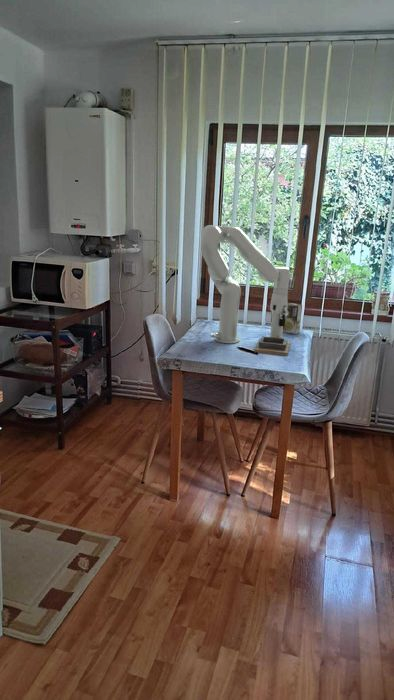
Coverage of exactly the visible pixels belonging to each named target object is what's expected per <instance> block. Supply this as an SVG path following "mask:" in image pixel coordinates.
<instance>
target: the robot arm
mask: <svg viewBox="0 0 394 700" xmlns="http://www.w3.org/2000/svg"><path fill="white" fill-rule="evenodd" d="M200 235H201V238H202V239H201V243H200V250H201V251H200V252H201V255H202V257H203V260H204V262H205V264H206V265H207V272H208V275H209V276H210V277H209V278H211V280H212V282H213V284H214V286H215V288H216V289H217V291H218V292H219V293H220V294H221V299H220V305H219V324H218V331H216V332H215V333H210V334H209V337H210V338H214V339H215V341H216V342H218V343H222V344H237V343H239V342H240V341H241V340H240V338H239V337H238V326H239V325H238V323H239V309H240V308H239V307H240V300H241V297H242V289H241V286H240V284H239V283H238V282H237V281H236V280H234V279H233V278H232V276H231V274H230V267H229V265H228V264H227V262H226V261H225V259H224V257H223V256H222V254H221V251H220V249H219V244H230V245H231V246H232V247H233V249H234V250H236V252H237V253H238V254H239V255H240V257H241V258H242V259H243V260H244V261H245V262H246V263H248V264H249V265H250V266H252V267H253V268H254V269H256V270H257V271H258V276H259V278H260V279H261V280H262V281H264V282H267V283H269V284H272V283H273V287H272V288H273V290H272V294H271V299H270V306H269V311H270V315H271V316H270V323H271V322H272V311H273V305H276V311H275V312H276V313H277V314H280V319H279V326H285V319H286V317H287V315H288V311H287V306H288V303H289V302H288V301H289V300H288V297H289V296H288V293H289V285H290V276H291V275H290V274H291V273H290V272H291V270H290V267H287V266H275V265H274V264H273V263H272V262H271V261H270V259H268V258H267V256H265V255H264V253H262V251H261V250H260V249H259V248H258V247H257V246H256V245H255V244H254V243H253V242H252V240H251V239H250V238H249V237H248V235H247V234H245V232H244V231H243V230H242V229H241V228H240V227H237V226H227V225H226V226H224V225H223V226H222V225H212V224H209V225H208V224H207V225H206V226H204V227H203V228H202V230H201V234H200ZM282 312H283V313H282ZM282 314H283V316H282Z"/></svg>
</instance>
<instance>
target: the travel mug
mask: <svg viewBox="0 0 394 700" xmlns="http://www.w3.org/2000/svg"><path fill="white" fill-rule="evenodd" d="M275 311H276V305H273V311H272V322H271V321H270V334H269V335H270V336H269V337H272V336H277V337H278V338H283V333H284V332H283V326H279V319H280V314H277V313H276V312H275ZM282 313H283V312H282ZM282 316H283V314H282Z"/></svg>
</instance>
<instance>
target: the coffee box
mask: <svg viewBox="0 0 394 700" xmlns="http://www.w3.org/2000/svg"><path fill="white" fill-rule="evenodd" d="M287 311H288V315H287V317H286V319H285V326H283V333H288V334H294V335H297V334H299V333H300V331H301V321H302V311H303V304H301V303H292V302H288V306H287Z"/></svg>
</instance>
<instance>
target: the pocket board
mask: <svg viewBox="0 0 394 700" xmlns="http://www.w3.org/2000/svg"><path fill="white" fill-rule="evenodd" d="M290 347H291V341H289V340H288V338H285V337H284V338H283V337H282V338H278V337H277V336H272V337H270V336H265V335H264V336H263V335H262V336H261V337H260V338H259V340H258V341H257V343H256V345H255V347H254V349H253V352H254V353H256V352H257V353H258V354H268V355H276V356H277V355H278V356H285V357H287V356H288V355H289V351H290Z"/></svg>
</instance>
